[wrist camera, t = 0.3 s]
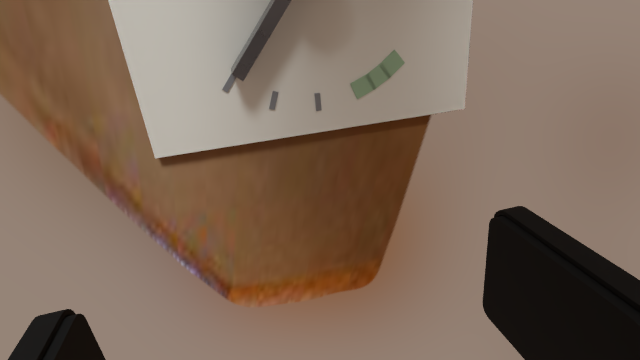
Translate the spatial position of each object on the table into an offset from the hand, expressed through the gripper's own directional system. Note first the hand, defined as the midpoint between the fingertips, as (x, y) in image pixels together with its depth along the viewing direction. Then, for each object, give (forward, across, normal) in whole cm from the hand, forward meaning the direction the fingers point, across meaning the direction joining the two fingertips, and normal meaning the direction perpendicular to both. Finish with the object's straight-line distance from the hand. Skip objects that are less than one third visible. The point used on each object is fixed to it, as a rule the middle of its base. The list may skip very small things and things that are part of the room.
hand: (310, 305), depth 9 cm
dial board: (+28, -6, -4) cm, 29 cm away
